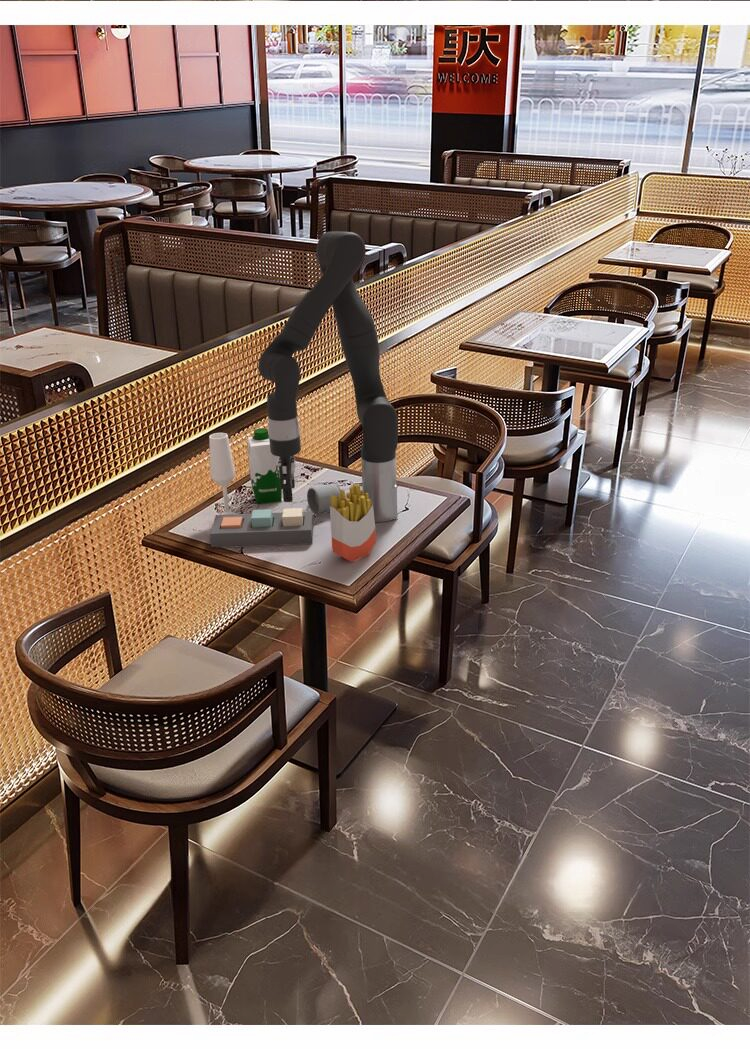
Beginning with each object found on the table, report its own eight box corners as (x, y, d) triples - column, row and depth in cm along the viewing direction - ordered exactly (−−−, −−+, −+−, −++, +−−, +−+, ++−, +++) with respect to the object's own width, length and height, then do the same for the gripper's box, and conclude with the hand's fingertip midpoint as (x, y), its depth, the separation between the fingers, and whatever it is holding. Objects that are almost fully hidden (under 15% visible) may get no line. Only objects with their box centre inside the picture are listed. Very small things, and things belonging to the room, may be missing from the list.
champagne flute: (216, 513, 240) (206, 432, 229) (240, 511, 240) (231, 430, 230) (214, 523, 234) (204, 441, 223) (239, 522, 234) (230, 439, 224)
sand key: (303, 519, 227) (302, 508, 226) (302, 528, 223) (301, 516, 221) (284, 520, 227) (283, 508, 226) (283, 528, 223) (282, 517, 221)
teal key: (273, 520, 227) (272, 509, 226) (271, 529, 223) (270, 517, 221) (254, 521, 227) (253, 509, 226) (252, 530, 223) (251, 518, 221)
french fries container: (377, 551, 217) (375, 486, 209) (344, 566, 210) (341, 499, 202) (364, 545, 220) (362, 480, 212) (332, 560, 213) (328, 494, 205)
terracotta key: (243, 528, 228) (242, 516, 227) (241, 536, 224) (240, 525, 222) (224, 528, 228) (223, 517, 227) (222, 537, 224) (220, 525, 222)
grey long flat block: (314, 524, 232) (313, 511, 230) (312, 543, 222) (311, 529, 220) (217, 528, 231) (215, 514, 230) (211, 547, 221) (209, 533, 220)
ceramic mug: (345, 511, 239) (344, 485, 236) (320, 518, 235) (318, 492, 232) (326, 499, 247) (325, 474, 244) (301, 506, 243) (299, 481, 240)
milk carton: (280, 490, 253) (275, 426, 244) (285, 503, 245) (279, 436, 236) (251, 494, 251) (244, 429, 242) (254, 506, 243) (247, 440, 234)
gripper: (298, 443, 203) (302, 505, 210) (301, 423, 216) (305, 482, 223) (266, 445, 203) (272, 507, 210) (271, 424, 216) (276, 483, 223)
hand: (289, 494), depth 217 cm, fingers open, 8 cm apart
